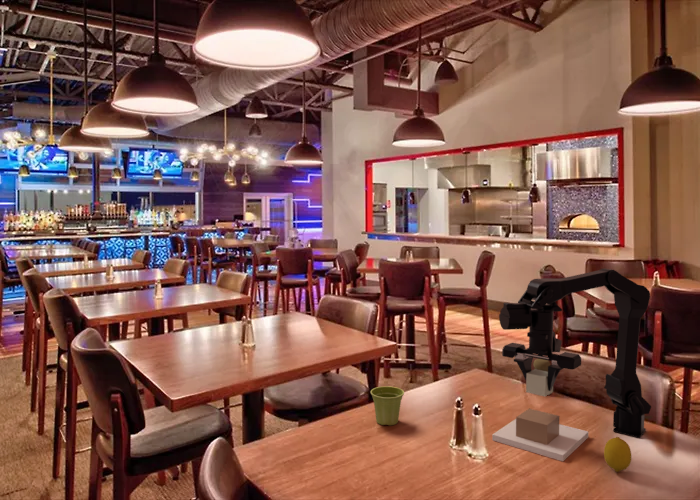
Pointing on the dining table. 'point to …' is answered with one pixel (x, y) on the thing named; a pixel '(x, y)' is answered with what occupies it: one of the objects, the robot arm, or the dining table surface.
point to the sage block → (537, 383)
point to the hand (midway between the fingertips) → (539, 388)
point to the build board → (545, 450)
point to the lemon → (617, 454)
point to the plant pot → (387, 404)
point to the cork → (541, 365)
